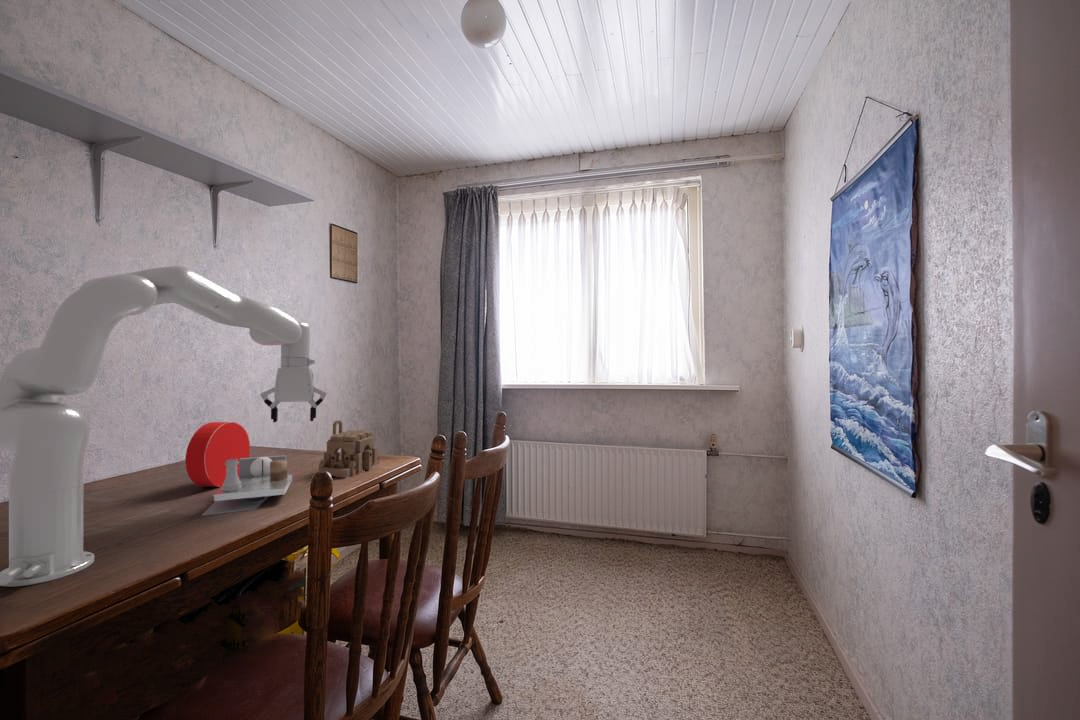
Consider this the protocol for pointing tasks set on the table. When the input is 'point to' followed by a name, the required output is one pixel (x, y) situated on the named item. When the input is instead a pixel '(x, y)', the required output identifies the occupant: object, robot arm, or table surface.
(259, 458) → the scale base
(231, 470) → the rook chess piece
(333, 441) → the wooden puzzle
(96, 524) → the table surface
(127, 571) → the table surface
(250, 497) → the pan
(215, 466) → the red thick disc
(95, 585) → the table surface
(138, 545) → the table surface
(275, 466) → the tan cylinder
